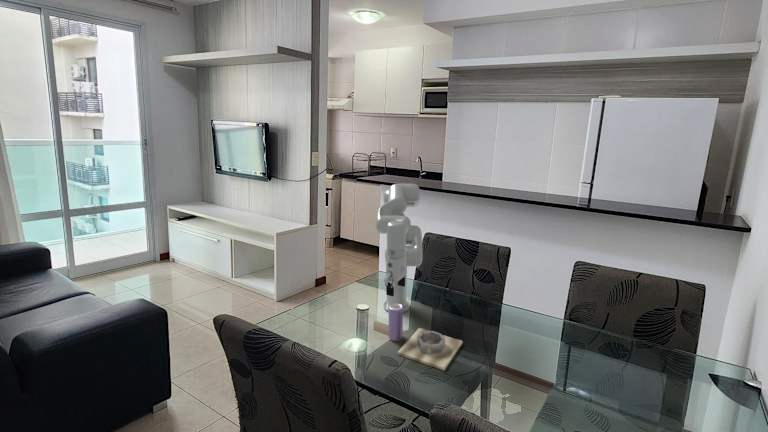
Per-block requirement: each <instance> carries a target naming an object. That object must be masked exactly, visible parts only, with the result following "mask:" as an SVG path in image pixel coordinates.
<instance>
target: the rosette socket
mask: <svg viewBox="0 0 768 432" xmlns="http://www.w3.org/2000/svg"><path fill="white" fill-rule="evenodd" d="M463 341H464V340H461V339H457V338H453V337H451V336H447V335H445V334H444V335H443V334H442V333H440V332H438V331H435V330H427V329H426V328H422V327H418V328H417V330H416V331H415V332H414V333H413V334H412V335H411V336H410V338H408V339H407V340H406V342H405V343H404V344H403V345H402V346H401V347H400V348H399V350H398V351H397V355H398V356H401V357H404V358H407V359H410V360H412V361H415V362H418V363H420V364H423V365H427V366H428V367H429V366H430V367H432V368H436V369H437V370H441V371H446V369H447V368H448V366H449V364H450V363H451V361H452V360H453V358H454V357H455V356H456V355H457V352H458V351H459V350H460V348H461V347H462V345H463V343H464V342H463Z"/></svg>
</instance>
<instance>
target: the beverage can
mask: <svg viewBox="0 0 768 432" xmlns="http://www.w3.org/2000/svg"><path fill="white" fill-rule="evenodd" d="M403 316H404V312H403V308H402V305H401V304H398V303H393V304H391V305H389V312H388V338H389V340H391V341H392V342H399V341H401V340H402V338H403V335H404V334H403V332H404V331H403V329H404V327H403V326H404V325H403V324H404V322H403V320H404V317H403Z"/></svg>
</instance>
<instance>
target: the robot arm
mask: <svg viewBox="0 0 768 432" xmlns="http://www.w3.org/2000/svg"><path fill="white" fill-rule="evenodd" d="M420 189H421V188H420V187H419V185H418V184H416V183H394V184H392V185H391V186H389V188H388V190H386V191H384V193H383V204H382V205H381V206H380V207H379V208H378V209H377V212H376V216H375V230H376V232H377V233H378V234H386V248H385V250H384V260H385V277H384V280H383V282H384V286H385V287H386V290H385V294H386V301H384V302H383V309H384V310H385V311H386V312H388V313H389V305H391V304H393V303H398V304H401V305H402V308H403V313H405V312H408V311H409V309H410V304H409V302H408V301H407V290H408V289H407V288H408V287H407V284H408V282H407V278H408V276H407V275H408V267H420V265H422V263H423V233H422V230H421V227H419V226H418V225H415V224H414V225H413V224H411V220H410V218H409V217H408V216H407V215H406V214H405V211H406V210H407V207H408V208H409V207H410V208H411V207H412V208H414V207H417V206H418V205H419V204H420V198H421V190H420Z"/></svg>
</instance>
